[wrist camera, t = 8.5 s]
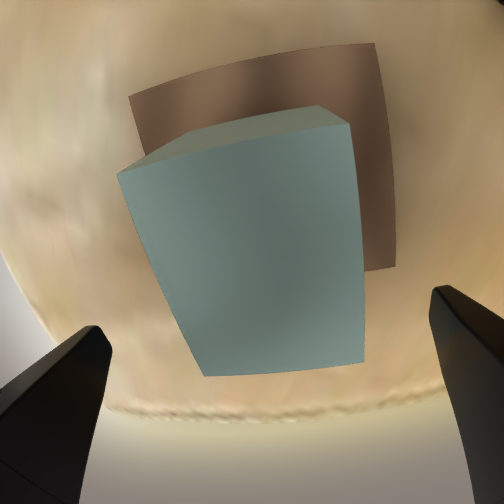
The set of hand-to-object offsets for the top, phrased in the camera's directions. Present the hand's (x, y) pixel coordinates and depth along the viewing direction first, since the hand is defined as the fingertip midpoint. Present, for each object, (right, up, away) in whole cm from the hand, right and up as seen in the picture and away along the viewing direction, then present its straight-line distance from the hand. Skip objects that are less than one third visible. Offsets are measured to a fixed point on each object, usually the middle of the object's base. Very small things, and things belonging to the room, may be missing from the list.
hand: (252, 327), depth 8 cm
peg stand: (+1, +6, +11) cm, 13 cm away
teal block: (+1, +4, +7) cm, 9 cm away
